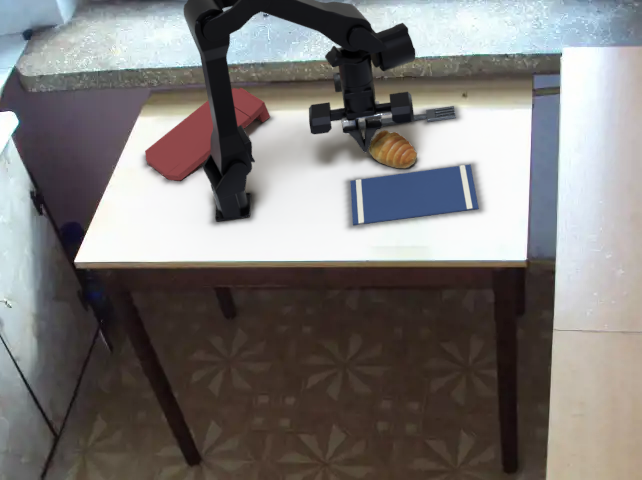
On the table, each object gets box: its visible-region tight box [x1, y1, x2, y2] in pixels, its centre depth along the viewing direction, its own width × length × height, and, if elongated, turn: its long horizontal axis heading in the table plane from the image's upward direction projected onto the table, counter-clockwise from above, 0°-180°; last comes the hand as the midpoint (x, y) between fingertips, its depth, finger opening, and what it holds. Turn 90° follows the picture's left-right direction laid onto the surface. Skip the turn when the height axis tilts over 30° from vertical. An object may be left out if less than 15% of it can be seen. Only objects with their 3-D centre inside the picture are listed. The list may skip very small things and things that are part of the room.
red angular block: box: [144, 87, 271, 181], centre depth 190 cm, size 12×5×25 cm
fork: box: [359, 105, 457, 130], centre depth 184 cm, size 3×19×1 cm, turn 89°
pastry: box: [368, 129, 418, 169], centre depth 176 cm, size 9×7×4 cm
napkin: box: [350, 164, 480, 226], centre depth 170 cm, size 12×22×1 cm, turn 89°
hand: (365, 151), depth 178 cm, fingers closed
